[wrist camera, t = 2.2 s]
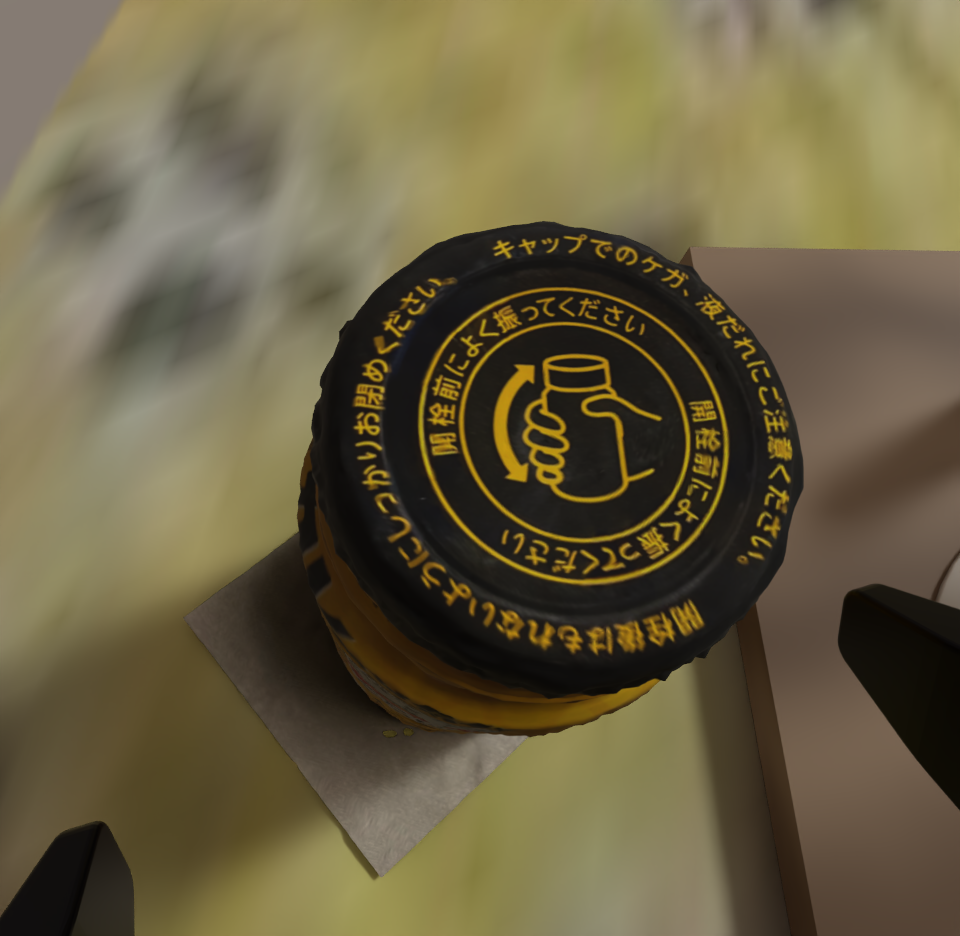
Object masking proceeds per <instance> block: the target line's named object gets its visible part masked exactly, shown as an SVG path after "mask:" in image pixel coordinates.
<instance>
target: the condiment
mask: <svg viewBox="0 0 960 936" xmlns="http://www.w3.org/2000/svg"><path fill="white" fill-rule="evenodd" d="M320 386H321V388H322V393H321V397H320V399H319V400H318V402H317V403H316V404H315V410H314V413H313V418H312V426H311V430H312V434H313V439H312V441H311V443H310V445H309V448H308V451H307V454H306V456H305V458H304V464H303V467H302V471H301V478H300V489H301V493H300V497H299V500H298V513H297V519H298V527H299V532H298V533H297V534H296V535H294V536H293V537H292V538H290V539H289V540H288V541H286V542H285V543H284V544H282V545H281V546H280V547H278V548H277V549H275V550H274V551H272V552H271V553H270V554H269V555H268V556H267V557H265V558H264V559H263V560H261V561H260V562H258V563H257V564H255V565H254V566H253V567H252V568H250V569H249V570H248V571H246V572H245V573H244V574H242V575H241V576H239V577H238V578H236V579H235V580H234V581H232V582H231V583H229V584H228V585H227V586H225V587H224V588H222V589H221V590H219V591H218V592H216V593H215V594H214V595H213V596H211V597H210V598H209V599H208V600H206V601H205V602H204V603H202V604H201V605H200V606H198V607H197V608H196V609H194V610H193V611H192V612H190V613H189V614H188V615H186V616H185V617H184V620H185V621H186V622H187V624H188V625H189V626H190V628H191V629H192V630H193V631H194V633H195V634H196V636H197V637H198V638H199V639H200V641H201V642H202V643H203V644H204V645H205V647H206V648H207V649H208V651H209V652H210V653H211V654H212V656H213V657H214V658H215V660H216V661H217V662H218V664H219V665H220V666H221V668H222V669H223V670H224V672H225V673H226V674H227V675H228V677H229V678H230V679H231V681H232V682H233V683H234V685H235V686H236V687H237V689H238V690H239V691H240V692H241V694H242V695H243V696H244V697H245V699H246V700H247V702H248V703H249V704H250V706H251V707H252V708H253V710H254V711H255V712H256V713H257V714H258V716H259V717H260V718H261V719H262V721H263V722H264V723H265V725H266V726H267V728H268V729H269V730H270V732H271V733H272V734H273V736H274V737H275V738H276V740H277V741H278V742H279V744H280V745H281V746H282V747H283V749H284V750H285V751H286V753H287V754H288V755H289V757H290V758H291V759H292V760H293V762H296V764H297V765H298V768H299V770H300V771H301V772H302V774H303V775H304V776H305V778H306V779H307V780H308V782H309V783H310V784H311V786H312V787H313V788H314V790H315V791H316V792H317V793H318V795H319V796H320V798H321V799H322V800H323V802H324V803H325V804H326V806H327V807H328V808H329V809H330V811H331V812H332V813H333V815H334V816H335V817H336V818H337V820H338V821H339V822H340V824H341V825H342V826H343V828H344V829H345V830H346V831H347V833H348V834H349V836H350V837H351V839H352V840H353V841H354V843H355V844H356V845H357V847H358V848H359V849H360V850H361V852H362V853H363V854H364V856H365V857H366V858H367V860H368V861H369V862H370V864H371V865H372V866H373V867H374V869H375V870H376V872H377V873H378V874H379V875H380V877H383V876H384V875H385V874H386V873H387V872H388V871H389V870H390V869H391V868H392V867H393V866H394V865H395V864H396V863H397V862H398V861H399V860H400V859H402V858H403V857H404V856H405V855H406V854H407V853H408V852H409V851H410V850H411V849H412V848H413V847H414V846H415V845H416V844H417V843H418V842H419V841H420V840H421V839H422V838H423V837H424V836H425V835H426V834H427V833H428V832H430V831H431V830H432V829H433V828H434V827H435V826H436V825H437V824H438V823H439V822H440V821H441V820H442V819H444V818H445V817H446V816H447V815H448V814H449V813H450V812H451V811H452V810H453V809H454V808H455V807H456V806H457V805H458V804H459V803H460V802H461V801H462V800H463V799H464V798H465V797H466V796H467V795H468V794H469V793H470V792H471V791H472V790H473V789H475V788H476V787H477V786H478V785H479V784H480V783H481V782H482V781H483V780H484V779H485V778H486V777H488V776H489V775H490V774H491V772H492V771H493V770H494V769H495V768H497V767H498V766H499V765H500V764H501V763H502V762H503V761H504V760H505V759H506V758H507V757H508V756H509V755H510V754H511V753H512V752H513V751H514V750H515V749H516V748H517V747H518V746H519V745H520V744H521V743H522V742H523V741H524V740H525V739H526V738H527V737H533V736H537V735H543V736H544V735H546V734H548V733H558V732H561V731H563V730H565V729H568V728H570V727H572V726H575V725H584V724H586V723H589V722H592V721H595V720H597V719H598V718H599V717H600V716H602V715H605V714H611V713H614V712H615V711H617V710H619V709H621V708H623V707H626V706H628V705H629V704H631V703H633V702H634V701H636V700H637V699H639V698H640V697H641V696H643V695H645V694H646V693H648V692H649V691H650V689H651V688H652V687H653V686H655V685H656V684H657V683H658V682H659V681H660V680H662V681H666V679H667V678H668V676H669V675H670V673H671V672H672V671H674V670H676V669H678V668H680V667H681V666H682V665H684V664H687V663H691V662H692V661H693V659H694V658H695V657H699V658H706V656H707V654H708V652H709V650H710V648H711V647H712V646H713V645H714V644H716V643H717V642H718V641H720V640H721V639H722V638H724V637H725V635H726V634H727V632H728V631H729V629H730V628H731V626H732V625H733V624H734V623H736V622H738V621H740V620H743V619H744V617H745V616H746V614H747V612H748V611H749V610H750V608H751V607H752V606H753V605H754V604H755V603H756V602H757V601H758V599H759V596H760V595H761V594H762V593H763V592H764V591H765V589H766V588H767V587H768V586H769V584H770V582H771V581H772V579H773V577H774V576H775V574H776V573H777V571H778V570H779V568H780V566H781V565H782V563H783V561H784V557H785V553H786V547H787V540H788V532H789V528H790V524H791V520H792V516H793V512H794V509H795V506H796V504H797V502H798V500H799V497H800V495H801V493H802V491H803V488H804V466H803V456H802V451H801V445H800V439H799V434H798V429H797V424H796V420H795V418H794V415H793V412H792V409H791V406H790V403H789V400H788V397H787V394H786V392H785V389H784V386H783V384H782V381H781V379H780V377H779V374H778V372H777V370H776V368H775V366H774V364H773V362H772V360H771V358H770V356H769V354H768V353H767V351H766V350H765V349H764V347H763V346H762V345H761V344H760V342H759V341H758V340H757V338H756V336H755V335H754V333H753V332H752V330H751V329H750V328H749V327H748V326H747V325H746V324H745V323H744V322H743V321H742V320H741V319H740V318H739V317H738V316H737V315H736V314H735V313H734V312H733V311H732V310H731V308H730V307H729V306H728V305H727V304H726V303H725V301H724V300H723V299H722V298H721V297H720V296H719V295H717V294H716V293H715V292H714V291H713V290H712V289H711V288H710V287H709V286H708V285H707V284H705V283H704V282H703V281H702V279H701V278H700V276H699V274H698V273H697V272H696V270H695V269H694V268H693V267H692V266H688V265H683V264H677V263H675V262H672V261H670V260H667V259H666V258H665V257H663V256H662V255H661V254H659V253H658V252H656V251H654V250H653V249H651V248H650V247H648V246H646V245H643V244H641V243H639V242H636V241H634V240H632V239H629V238H626V237H624V236H620V235H613V234H608V233H604V232H601V231H596V230H591V229H586V228H574V227H568V226H564V225H561V224H559V223H556V222H546V221H542V222H535V223H530V224H522V225H512V226H507V227H501V228H496V229H491V230H486V231H481V232H475V233H469V234H463V235H460V236H456V237H453V238H451V239H448V240H446V241H443V242H439V243H437V244H435V245H434V246H432V247H431V248H429V249H427V250H426V251H424V252H423V253H422V254H421V255H420V256H418V257H417V258H416V259H415V260H414V261H412V262H411V263H410V264H409V265H407V266H406V267H404V268H402V269H401V270H399V271H398V272H397V273H395V274H394V275H393V276H391V277H390V278H389V279H388V280H387V281H385V282H384V283H383V284H382V285H381V286H380V287H378V288H377V289H376V290H375V291H374V292H373V293H372V294H371V296H370V297H369V298H368V300H367V301H366V302H365V304H364V305H363V306H362V307H361V309H360V310H359V311H358V312H357V314H356V316H355V317H354V319H353V320H350V321H347V322H346V324H345V325H344V327H343V328H342V329H341V330H340V331H339V342H338V345H337V347H336V350H335V353H334V355H333V357H332V358H331V360H330V361H329V363H328V364H327V366H326V368H325V370H324V372H323V374H322V376H321V379H320ZM405 728H409V729H412V730H413V731H414V734H413V735H411V736H407V735H404V733H403V730H404V729H405ZM387 730H393V731H395V732H397V735H396V737H393V738H387V737H385V736H384V735H383V734H382V733H383V731H387Z"/></svg>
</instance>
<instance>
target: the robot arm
mask: <svg viewBox="0 0 960 936" xmlns="http://www.w3.org/2000/svg"><path fill="white" fill-rule="evenodd" d="M838 647H839V650H840V653H841V655H842V657H843V659H844V661H845V662H846V663H847V665H848V666H849V668H850V669H851V670H852V672H853V673H854V675H855V676H856V677H857V679H858V680H859V682H860V683H861V684H862V686H863V687H864V689H865V690H866V691H867V693H868V694H869V696H870V697H871V698H872V700H873V701H874V703H875V704H876V705H877V707H878V708H879V709H880V711H881V712H882V714H883V715H884V716H885V718H886V719H887V721H888V722H889V723H890V725H891V726H892V728H893V729H894V730H895V732H896V733H897V735H898V736H899V737H900V739H901V740H902V742H903V743H904V744H905V746H906V747H907V748H908V750H909V751H910V752H911V754H912V755H913V756H914V758H915V759H916V760H917V761H918V763H919V764H920V765H921V766H922V767H923V769H924V770H925V771H926V772H927V773H928V775H929V776H930V777H931V778H932V779H933V780H934V782H935V783H936V784H937V785H938V786H939V787H940V789H941V790H942V791H943V792H944V793H945V794H946V795H947V797H948V798H949V799H950V800H951V801H952V802H953V804H954V805H955V806H956V807H957V808H958V809H959V811H960V609H957V608H954V607H951V606H948V605H945V604H942V603H939V602H936V601H933V600H930V599H927V598H924V597H920V596H917V595H914V594H911V593H908V592H905V591H902V590H899V589H896V588H893V587H890V586H886V585H883V584H878V583H875V584H869V585H866V586H863V587H860V588H856V589H853V590H850V591H849V592H847V594H846V595H845V597H844V600H843V605H842V612H841V618H840V625H839V632H838ZM0 936H135V932H134V887H133V880H132V875H131V872H130V869H129V866H128V864H127V862H126V860H125V858H124V857H123V855H122V853H121V851H120V849H119V847H118V845H117V843H116V841H115V839H114V837H113V835H112V833H111V831H110V829H109V827H108V826H107V825H106V824H105V823H104V822H102V821H95V822H91V823H88V824H85V825H82V826H78V827H75V828H72V829H69V830H66V831H63V832H62V833H60V834H59V835H58V836H57V837H56V838H55V839H54V841H53V842H52V843H51V845H50V846H49V848H48V849H47V851H46V852H45V853H44V855H43V856H42V858H41V859H40V861H39V862H38V864H37V865H36V866H35V868H34V869H33V871H32V872H31V874H30V875H29V876H28V878H27V879H26V881H25V882H24V884H23V885H22V887H21V888H20V889H19V891H18V892H17V894H16V895H15V897H14V898H13V900H12V901H11V902H10V904H9V905H8V907H7V908H6V910H5V911H4V912H3V914H2V915H1V917H0Z"/></svg>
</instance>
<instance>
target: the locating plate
mask: <svg viewBox="0 0 960 936" xmlns="http://www.w3.org/2000/svg"><path fill="white" fill-rule="evenodd" d="M679 264H683V265H688V266H692V267H693V268H694V269H695V270H696V272H697V273H698V274H699V276H700V278H701V279H702V281H703V282H704V283H705V284H707V285H708V286H709V287H710V288H711V289H712V290H713V291H714V292H715V293H716V294H717V295H719V296H720V297H721V298H722V299H723V300H724V301H725V303H726V304H727V305H728V306H729V307H730V308H731V310H732V311H733V312H734V313H735V314H736V315H737V316H738V317H739V318H740V319H741V320H742V321H743V322H744V323H745V324H746V325H747V326H748V327H749V328H750V329H751V330H752V332H753V333H754V335H755V336H756V338H757V340H758V341H759V342H760V344H761V345H762V346H763V347H764V349H765V350H766V351H767V353H768V354H769V356H770V358H771V360H772V362H773V364H774V366H775V368H776V370H777V372H778V374H779V377H780V379H781V381H782V384H783V386H784V389H785V392H786V394H787V397H788V400H789V403H790V406H791V409H792V412H793V415H794V418H795V420H796V424H797V429H798V434H799V439H800V445H801V451H802V456H803V466H804V488H803V491H802V493H801V495H800V497H799V500H798V502H797V504H796V506H795V509H794V512H793V516H792V520H791V524H790V528H789V532H788V540H787V547H786V553H785V557H784V561H783V563H782V565H781V566H780V568H779V570H778V571H777V573H776V574H775V576H774V577H773V579H772V581H771V582H770V584H769V586H768V587H767V588H766V589H765V591H764V592H763V593H762V594H761V595H760V596H759V599H758V601H757V602H756V603H755V604H754V605H753V606H752V607H751V608H750V610H749V611H748V612H747V614H746V616H745V617H744V619H743V620H740V621H738V622H736V624H737V629H738V635H739V641H740V646H741V652H742V658H743V663H744V669H745V675H746V680H747V686H748V692H749V698H750V703H751V709H752V715H753V720H754V726H755V732H756V737H757V743H758V749H759V754H760V760H761V766H762V771H763V777H764V783H765V788H766V794H767V800H768V805H769V811H770V817H771V823H772V828H773V834H774V840H775V845H776V851H777V857H778V862H779V868H780V874H781V879H782V885H783V891H784V896H785V902H786V908H787V913H788V919H789V925H790V930H791V936H960V811H959V809H958V808H957V807H956V806H955V805H954V804H953V802H952V801H951V800H950V799H949V798H948V797H947V795H946V794H945V793H944V792H943V791H942V790H941V789H940V787H939V786H938V785H937V784H936V783H935V782H934V780H933V779H932V778H931V777H930V776H929V775H928V773H927V772H926V771H925V770H924V769H923V767H922V766H921V765H920V764H919V763H918V761H917V760H916V759H915V758H914V756H913V755H912V754H911V752H910V751H909V750H908V748H907V747H906V746H905V744H904V743H903V742H902V740H901V739H900V737H899V736H898V735H897V733H896V732H895V730H894V729H893V728H892V726H891V725H890V723H889V722H888V721H887V719H886V718H885V716H884V715H883V714H882V712H881V711H880V709H879V708H878V707H877V705H876V704H875V703H874V701H873V700H872V698H871V697H870V696H869V694H868V693H867V691H866V690H865V689H864V687H863V686H862V684H861V683H860V682H859V680H858V679H857V677H856V676H855V675H854V673H853V672H852V670H851V669H850V668H849V666H848V665H847V663H846V662H845V661H844V659H843V657H842V655H841V653H840V650H839V647H838V632H839V625H840V618H841V612H842V605H843V600H844V597H845V595H846V594H847V592H849V591H850V590H853V589H856V588H860V587H863V586H866V585H869V584H875V583H878V584H883V585H886V586H890V587H893V588H896V589H899V590H902V591H905V592H908V593H911V594H914V595H917V596H920V597H924V598H927V599H930V600H933V601H936V602H939V603H942V604H945V605H948V606H951V607H954V608H957V609H960V251H913V250H851V249H789V248H726V247H689V249H688V250H687V252H686V254H685V255H684V257H683V258H682V260H681V261H680V263H679Z"/></svg>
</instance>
